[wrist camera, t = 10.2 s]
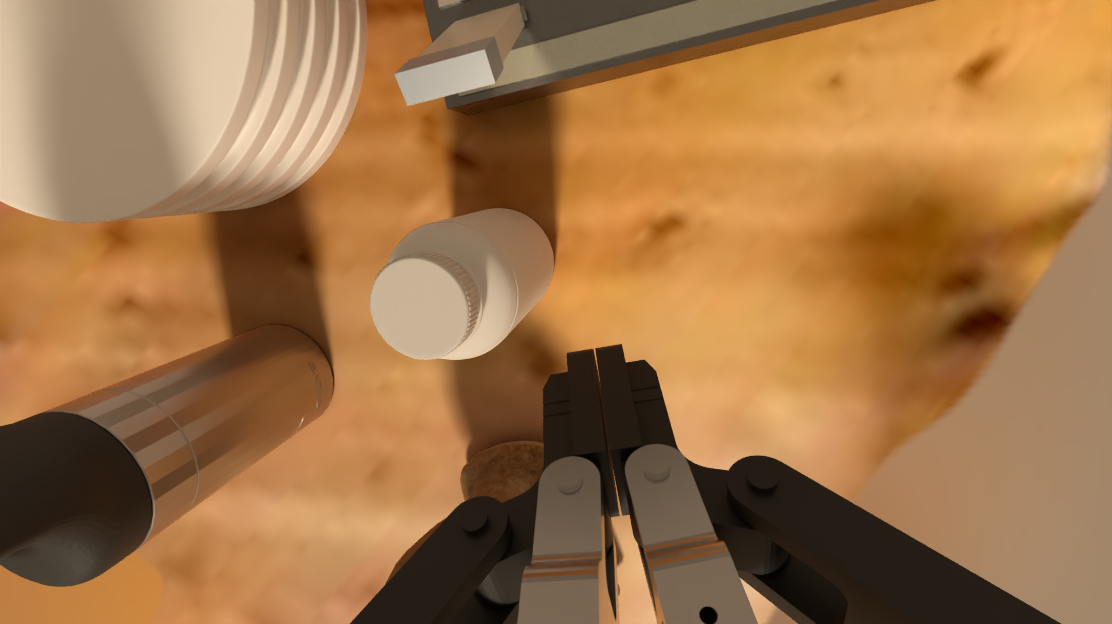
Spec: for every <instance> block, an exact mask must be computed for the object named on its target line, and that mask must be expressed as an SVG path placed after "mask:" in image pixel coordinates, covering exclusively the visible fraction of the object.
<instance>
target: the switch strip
mask: <svg viewBox="0 0 1112 624" xmlns="http://www.w3.org/2000/svg"><path fill="white" fill-rule="evenodd" d="M931 1H935V0H423V4H424V9H425V13H426V17H427V22H428V26H429V30H430V35H431V39H432V43H433V42H434V41H435V40H436V39H437V38H438V37H439V36H440V35H441V34H442V33H443V32H444V31H445V30H446V29H447V28H449V27H450V26H451V25H452V24H453V23H454V22H455V21H458V20H461V19H465V18H468V17H472V16H475V15H479V14H482V13H486V12H489V11H492V10H496V9H499V8H503V7H506V6H510V5H513V4H517V3H519V5H520V6H522V5H524V6H525V8H526V12H527V17H528V20H526V21H524V24H525V26H524V28H523V29H522V31H521V33H520V35H519V36H518V38H517V40H516V42H515V43H514V45H513V47H512V48H511V50H510V52H509V54H508V55H507V57H506V59H505V61H504V62H503V66H504V69H503V71H502V72H501V74H500V76H499V78H498V80H497V81H496V83H495V84H491V85H487V86H484V87H480V88H476V89H472V90H468V91H464V92H460V93H456V94H452V95H448V96H445V100H446V105H447V109H450V110H454V111H457V112H460V113H464V114H467V115H470V114H474V113H478V112H482V111H486V110H490V109H495V108H499V107H503V106H507V105H511V104H515V103H519V102H523V101H527V100H531V99H535V98H539V97H543V96H547V95H552V94H556V93H560V92H564V91H568V90H572V89H576V88H580V87H584V86H588V85H592V84H596V83H600V82H605V81H609V80H613V79H617V78H621V77H625V76H629V75H633V74H637V73H641V72H645V71H649V70H653V69H658V68H662V67H666V66H670V65H674V64H678V63H682V62H686V61H690V60H694V59H698V58H702V57H706V56H711V55H715V54H719V53H723V52H727V51H731V50H735V49H739V48H743V47H747V46H751V45H755V44H759V43H763V42H768V41H772V40H776V39H780V38H784V37H788V36H792V35H796V34H800V33H804V32H808V31H812V30H816V29H821V28H825V27H829V26H833V25H837V24H841V23H845V22H849V21H853V20H857V19H861V18H865V17H869V16H874V15H878V14H882V13H886V12H890V11H894V10H898V9H902V8H906V7H910V6H914V5H918V4H922V3H926V2H931Z"/></svg>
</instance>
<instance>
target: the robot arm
mask: <svg viewBox="0 0 1112 624" xmlns="http://www.w3.org/2000/svg"><path fill="white" fill-rule="evenodd" d="M595 349H596V357H597V364H598V370H597V365H596V360H595V355H594V350H593V349H588V350H582V351H576V352H570V353H567V365H568V372H564V373H558V374H552V375H550V377H549V379H548V381H547V383H546V385H545V387H544V389H543V405H544V407H543V416H544V419H543V430H544V465H543V470H542V473H541V475H540V477H539V479H538V480H537V482H536V483H535V484H534V485H533V486H532V487H531V488H530V489H529V490H527V491H526V492H524V493H522V494H520V495H519V496H516V497H514V498H512V499H510V500H507V501H505V502H503V503H501V502H500V501H499V500H497V499H495V498H493V497H489V496H478V497H474V498H471V499H469V500H466V501H465V502H463V503H461V504H460V505H459V506H458V507H457V508H455V509H454V510H453V512H452V513H451V514H450V515H449V516H448V517H447V518H446V519H445V520H444V521H443V522H442V524H441V525H440V526H439V527H438V528H437V529H436V530H435V531H434V532H433V533H432V534H431V536H430V537H429V538H428V539H427V540H426V541H425V542H424V543H423V544H422V545H421V547H420V548H419V549H418V550H417V551H416V552H415V553H414V554H413V555H412V556H411V557H410V559H409V560H408V561H407V562H406V563H405V564H404V565H403V566H402V567H401V568H400V569H399V571H398V572H397V573H396V574H395V575H394V576H393V577H392V578H391V579H390V580H389V581H388V583H387V584H386V585H385V586H384V587H383V588H382V589H381V590H380V591H379V592H378V594H377V595H376V596H375V597H374V598H373V599H372V600H371V601H370V602H369V603H368V604H367V606H366V607H365V608H364V609H363V610H362V611H361V612H360V613H359V614H358V615H357V616H356V618H355V619H354V620H353V621H352V622H351V623H350V624H516V623H517V624H619V604H618V582H617V561H616V546H615V541H614V537H613V532H612V523H611V517H615V516H620V515H619V508H618V501H617V494H616V487H615V481H616V486H617V491H618V496H619V501H620V506H621V511H622V516H623V515H630V519H631V525H632V530H633V535H634V538H635V540H636V541H637V543H638V547H639V551H640V555H641V559H642V563H643V567H644V571H645V575H646V579H647V583H648V587H649V591H650V595H651V599H652V603H653V607H654V611H655V615H656V619H657V624H758V623H757V620H756V618H755V615H754V613H753V610H752V608H751V605H750V603H749V600H748V598H747V595H746V593H745V590H744V588H743V585H742V583H741V580H740V578H741V579H742V580H744V581H745V582H746V583H747V584H749V585H750V586H751V587H753V588H754V589H755V590H756V591H758V592H759V593H760V594H761V595H763V596H764V597H765V598H766V599H768V600H769V601H770V602H772V603H773V604H774V605H775V606H777V607H778V608H779V609H780V610H782V611H783V612H784V613H786V614H787V615H788V616H789V617H791V618H792V619H793V620H794V621H796V622H797V623H798V624H1061V623H1059V622H1057V621H1056V620H1054V619H1052V618H1050V617H1049V616H1047V615H1045V614H1043V613H1042V612H1040V611H1038V610H1036V609H1035V608H1033V607H1031V606H1030V605H1028V604H1026V603H1024V602H1023V601H1021V600H1019V599H1018V598H1015V597H1014V596H1012V595H1011V594H1009V593H1007V592H1005V591H1004V590H1002V589H1000V588H999V587H997V586H995V585H993V584H991V583H990V582H988V581H986V580H984V579H983V578H981V577H979V576H978V575H976V574H974V573H972V572H971V571H969V570H967V569H966V568H964V567H962V566H960V565H959V564H957V563H955V562H954V561H952V560H950V559H948V558H947V557H945V556H943V555H941V554H940V553H938V552H936V551H935V550H933V549H931V548H929V547H927V546H926V545H924V544H922V543H921V542H919V541H917V540H915V539H914V538H912V537H910V536H909V535H907V534H905V533H903V532H902V531H900V530H898V529H896V528H895V527H893V526H891V525H890V524H888V523H886V522H884V521H882V520H881V519H879V518H877V517H875V516H874V515H872V514H870V513H869V512H867V511H865V510H864V509H862V508H860V507H858V506H857V505H855V504H853V503H852V502H850V501H848V500H846V499H845V498H843V497H841V496H839V495H838V494H836V493H834V492H832V491H831V490H829V489H827V488H826V487H824V486H822V485H820V484H819V483H817V482H815V481H813V480H812V479H810V478H808V477H807V476H805V475H803V474H801V473H800V472H798V471H796V470H794V469H793V468H791V467H789V466H788V465H786V464H784V463H782V462H780V461H778V460H776V459H774V458H771V457H766V456H749V457H745V458H742V459H740V460H738V461H737V462H735V463H734V464H733V465H732V466H731V468H730V469H729V471H728V470H721V469H713V468H707V467H703V466H700V465H697V464H695V463H693V462H691V461H690V460H688V459H687V458H686V457H684V456H683V454H682V453H681V452H680V451H679V449H678V447H677V445H676V442H675V438H674V435H673V431H672V427H671V424H670V420H669V416H668V413H667V409H666V406H665V402H664V399H663V395H662V391H661V388H660V384H659V380H658V377H657V373H656V371H655V370H654V369H653V368H652V367H651V366H650V365H649V364H648V363H647V362H646V361H645V360H639V361H633V362H627V363H626V362H625V357H624V352H623V348H622V344H619V345H613V346H607V347H601V348H595ZM598 371H599V376H598ZM599 378H600V381H599ZM332 393H333V377H332V372H331V368H330V366H329V363H328V361H327V359H326V357H325V355H324V354H323V352H322V351H321V349H320V348H319V347H318V346H317V345H316V344H315V342H314V341H313V340H312V339H311V338H309V337H308V336H306V335H305V334H304V333H302V332H300V331H298V330H296V329H294V328H292V327H288V326H284V325H266V326H262V327H259V328H256V329H254V330H251V331H249V332H246V333H244V334H241V335H238V336H236V337H233V338H231V339H228V340H225V341H223V342H220V343H218V344H215V345H213V346H210V347H207V348H205V349H202V350H200V351H197V352H195V353H192V354H190V355H187V356H184V357H182V358H179V359H177V360H174V361H172V362H169V363H167V364H164V365H162V366H159V367H156V368H154V369H151V370H149V371H146V372H144V373H141V374H139V375H136V376H133V377H131V378H128V379H126V380H123V381H121V382H118V383H116V384H113V385H111V386H108V387H105V388H103V389H100V390H98V391H95V392H93V393H90V394H88V395H86V396H83V397H81V398H78V399H76V400H73V401H70V402H68V403H65V404H63V405H60V406H58V407H55V408H53V409H50V410H47V411H45V412H42V413H40V414H37V415H34V416H32V417H29V418H26V419H24V420H21V421H18V422H15V423H12V424H9V425H4V426H0V565H2V566H3V567H5V568H6V569H8V570H9V571H11V572H13V573H15V574H17V575H19V576H21V577H23V578H25V579H28V580H30V581H34V582H37V583H40V584H43V585H47V586H57V587H58V586H59V587H60V586H61V587H66V586H73V585H77V584H81V583H84V582H87V581H89V580H92V579H94V578H95V577H97V576H99V575H101V574H103V573H104V572H106V571H107V570H108V569H110V568H111V567H113V566H114V565H116V564H117V563H118V562H120V561H121V560H123V559H124V558H125V557H126V556H128V555H130V554H131V553H132V552H134V551H135V550H136V549H138V548H139V547H141V546H142V545H143V544H145V543H146V542H148V541H149V540H150V539H152V538H153V537H154V536H156V535H157V534H159V533H160V532H161V531H163V530H164V529H165V528H167V527H168V526H170V525H171V524H172V523H174V522H175V521H176V520H178V519H179V518H181V517H182V516H183V515H184V514H186V513H187V512H189V511H190V510H191V509H193V508H194V507H195V506H197V505H198V504H200V503H201V502H202V501H204V500H205V499H206V498H208V497H209V496H211V495H212V494H213V493H215V492H216V491H217V490H219V489H220V488H222V487H223V486H224V485H226V484H227V483H229V482H230V481H231V480H233V479H234V478H235V477H237V476H238V475H240V474H241V473H242V472H244V471H245V470H246V469H248V468H249V467H251V466H252V465H253V464H255V463H256V462H257V461H259V460H260V459H262V458H263V457H264V456H266V455H267V454H268V453H270V452H271V451H273V450H274V449H275V448H277V447H278V446H280V445H281V444H282V443H284V442H285V441H286V440H288V439H289V438H291V437H292V436H293V435H295V434H296V433H297V432H299V431H300V430H302V429H303V428H304V427H306V426H307V425H308V424H310V423H311V422H312V421H314V420H315V419H316V418H318V417H319V416H320V415H322V414H323V412H324V411H325V410H326V409H327V407H328V405H329V403H330V401H331V398H332ZM613 471H614V473H613ZM614 476H615V480H614ZM739 577H740V578H739Z"/></svg>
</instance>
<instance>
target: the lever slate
mask: <svg viewBox="0 0 1112 624" xmlns="http://www.w3.org/2000/svg"><path fill="white" fill-rule="evenodd" d="M526 20H528V17H527V12H526V8H525V6H524V5H522V6H520V5H519V3H517V4H513V5H510V6H506V7H503V8H499V9H496V10H492V11H489V12H486V13H482V14H479V15H475V16H472V17H468V18H465V19H461V20H458V21H455V22H454V23H453V24H452V25H451V26H450V27H449V28H447V29H446V30H445V31H444V32H443V33H442V34H441V35H440V36H439V37H438V38H437V39H436V40H435V41H434V42H433V43H432V44H431V45H429V46H428V47H427V48H426V49H425V50H424V51H423V52H422V53H421V54H420V55H419V56H418V57H417V58H413V59H410V60H409V61H408V62H407V63H406V64H405V65H403V66H402V67H401V68H400V69H399V70H398V71H397V72H396V73H395V74H394V75H395V77H396V79H397V82H398V84H399V87H400V89H401V91H402V94H403V96H404V98H405V101H406V103H407V106H409V105H413V104H417V103H421V102H425V101H429V100H433V99H437V98H441V97H445V96H448V95H452V94H456V93H460V92H464V91H468V90H472V89H476V88H480V87H484V86H487V85H491V84H495V83H496V81H497V80H498V78H499V76H500V74H501V72H502V71H503V69H504V66H503V62H504V61H505V59H506V57H507V55H508V54H509V52H510V50H511V48H512V47H513V45H514V43H515V42H516V40H517V38H518V36H519V35H520V33H521V31H522V29H523V28H524V26H525V24H524V21H526Z"/></svg>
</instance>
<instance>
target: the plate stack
mask: <svg viewBox="0 0 1112 624" xmlns="http://www.w3.org/2000/svg"><path fill="white" fill-rule="evenodd" d="M366 53H367V9H366V0H0V201H1V202H3V203H5V204H7V205H10V206H12V207H14V208H17V209H19V210H22V211H24V212H27V213H30V214H33V215H36V216H40V217H44V218H48V219H52V220H58V221H64V222H74V223H97V222H109V221H119V220H127V219H142V218H153V217H161V216H175V215H186V214H195V213H208V212H217V211H230V210H240V209H247V208H252V207H256V206H260V205H263V204H266V203H269V202H271V201H274V200H276V199H278V198H280V197H282V196H284V195H286V194H288V193H289V192H291V191H293V190H294V189H296V188H297V187H299V186H300V185H301V184H303V183H304V182H305V181H306V180H307V179H309V178H310V177H311V176H312V175H313V174H314V173H315V172H316V171H317V170H318V169H319V168H320V167H321V166H322V165H323V163H324V162H325V161H326V160H327V159H328V157H329V156H330V155H331V153H332V152H333V150H334V149H335V147H336V146H337V144H338V143H339V141H340V139H341V137H342V136H343V134H344V132H345V130H346V128H347V126H348V124H349V121H350V119H351V117H352V114H353V112H354V109H355V106H356V103H357V100H358V96H359V93H360V89H361V85H362V80H363V75H364V69H365V63H366Z"/></svg>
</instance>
